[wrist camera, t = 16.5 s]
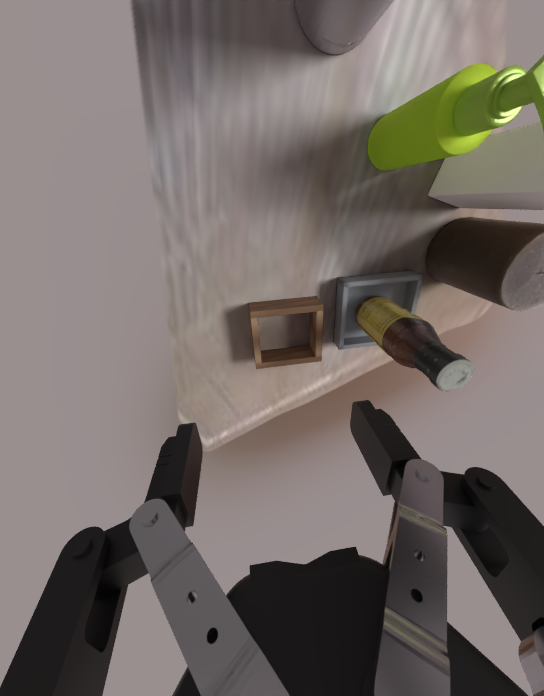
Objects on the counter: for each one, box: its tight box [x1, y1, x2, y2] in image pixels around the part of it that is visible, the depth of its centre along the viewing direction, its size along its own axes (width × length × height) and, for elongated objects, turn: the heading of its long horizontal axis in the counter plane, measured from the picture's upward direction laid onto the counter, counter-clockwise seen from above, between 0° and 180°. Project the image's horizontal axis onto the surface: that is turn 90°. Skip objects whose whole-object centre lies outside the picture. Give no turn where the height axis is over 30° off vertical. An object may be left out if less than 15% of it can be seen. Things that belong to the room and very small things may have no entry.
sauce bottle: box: [355, 296, 474, 392], centre depth 35 cm, size 7×6×20 cm
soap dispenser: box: [368, 56, 544, 171], centre depth 25 cm, size 6×7×20 cm
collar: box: [249, 296, 324, 369], centre depth 42 cm, size 10×11×4 cm
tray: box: [333, 271, 424, 350], centre depth 43 cm, size 11×12×3 cm
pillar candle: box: [426, 217, 544, 311], centre depth 35 cm, size 10×10×15 cm
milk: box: [428, 122, 544, 210], centre depth 27 cm, size 6×6×22 cm
